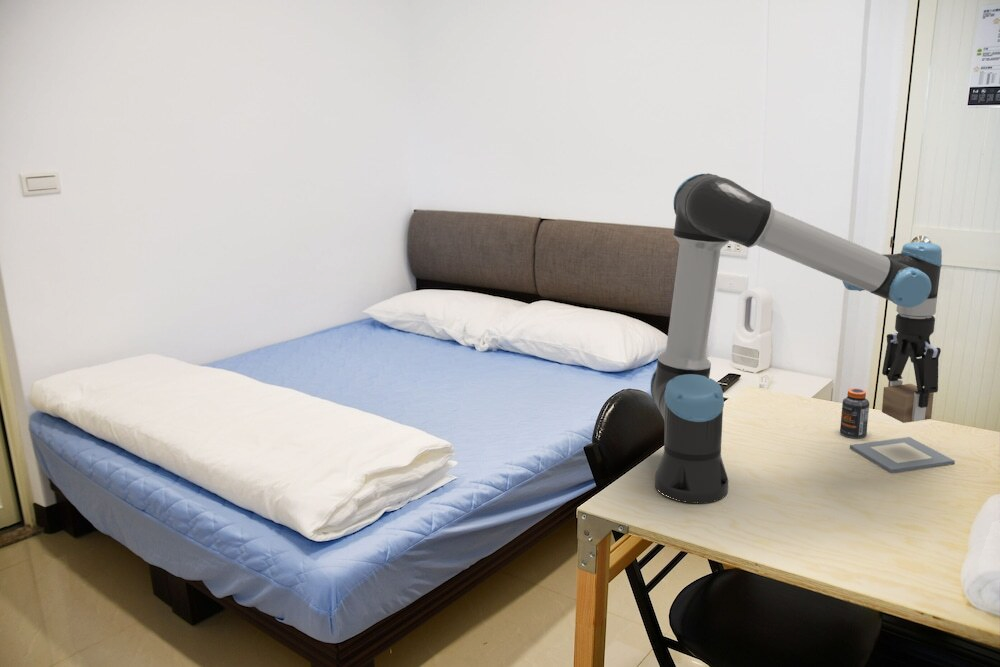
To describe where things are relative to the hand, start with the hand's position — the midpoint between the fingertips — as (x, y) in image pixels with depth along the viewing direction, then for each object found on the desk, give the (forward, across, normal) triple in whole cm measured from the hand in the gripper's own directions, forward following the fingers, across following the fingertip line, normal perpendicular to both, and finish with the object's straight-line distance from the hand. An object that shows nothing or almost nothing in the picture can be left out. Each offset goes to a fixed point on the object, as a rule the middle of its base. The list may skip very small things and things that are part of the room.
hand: (905, 413), depth 174 cm
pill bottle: (+10, +14, +2) cm, 18 cm away
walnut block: (0, 0, 0) cm, 0 cm away
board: (+10, 0, 0) cm, 10 cm away
